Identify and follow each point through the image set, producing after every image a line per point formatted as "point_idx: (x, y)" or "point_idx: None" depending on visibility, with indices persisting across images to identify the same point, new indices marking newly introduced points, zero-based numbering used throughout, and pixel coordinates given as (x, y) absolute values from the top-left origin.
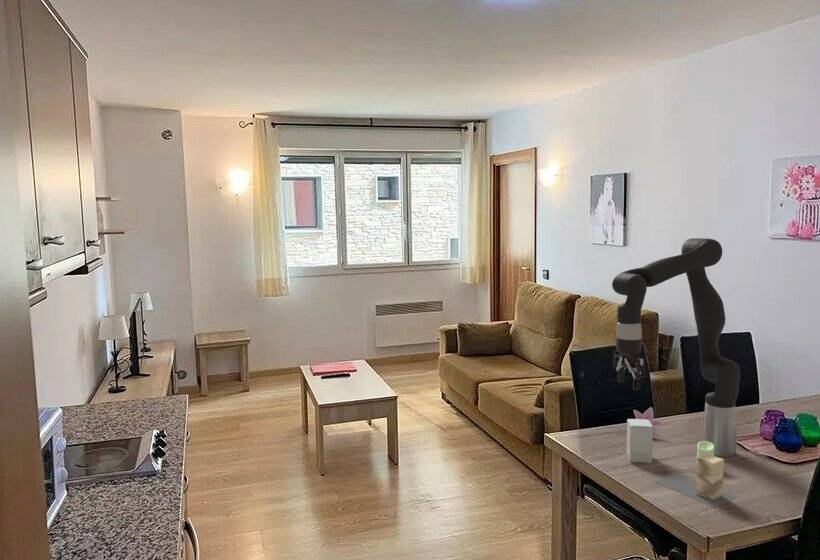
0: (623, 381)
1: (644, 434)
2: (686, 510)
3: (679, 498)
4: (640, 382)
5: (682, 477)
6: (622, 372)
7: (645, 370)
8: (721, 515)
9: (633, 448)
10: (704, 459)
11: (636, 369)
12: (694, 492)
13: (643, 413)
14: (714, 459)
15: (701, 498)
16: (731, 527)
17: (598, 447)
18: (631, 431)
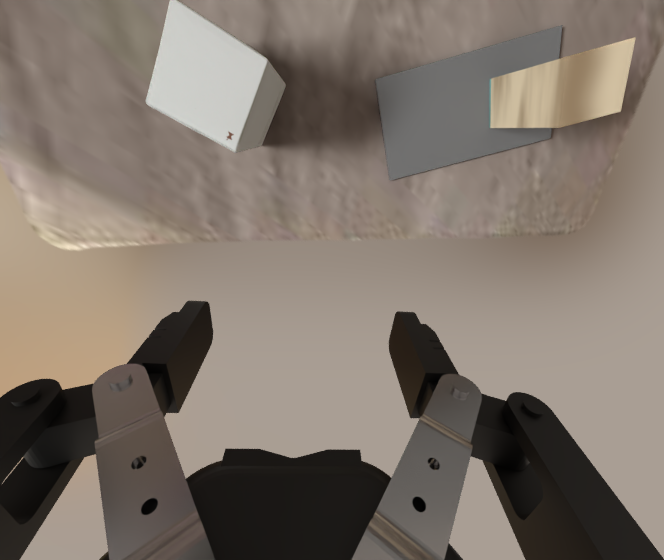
0: (205, 313)
1: (262, 101)
2: (510, 199)
3: (469, 174)
4: (449, 360)
5: (406, 81)
6: (176, 379)
7: (601, 477)
8: (568, 144)
9: (258, 138)
10: (583, 115)
11: (522, 540)
12: (480, 123)
13: None
14: (608, 76)
15: (507, 131)
16: (603, 165)
17: (147, 166)
18: (242, 149)
